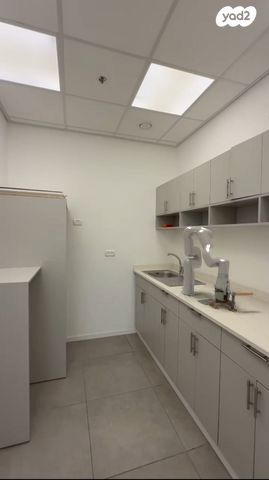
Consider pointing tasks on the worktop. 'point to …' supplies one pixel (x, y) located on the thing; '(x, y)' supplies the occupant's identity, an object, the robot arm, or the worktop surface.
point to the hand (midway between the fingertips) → (221, 298)
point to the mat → (206, 301)
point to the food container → (221, 297)
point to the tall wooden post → (241, 293)
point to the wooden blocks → (225, 306)
